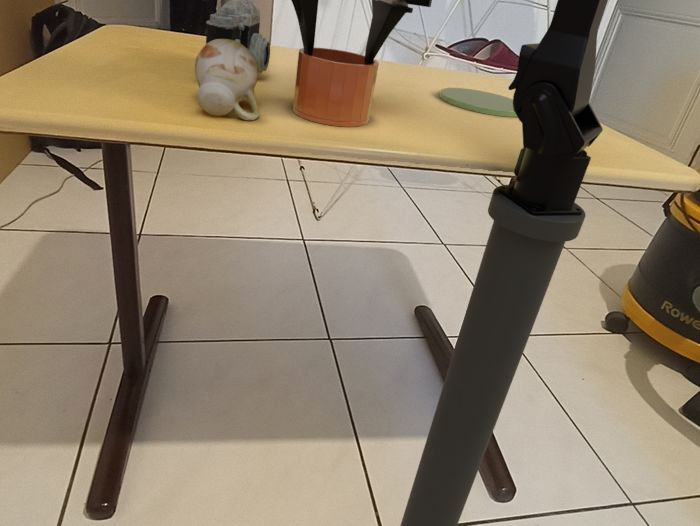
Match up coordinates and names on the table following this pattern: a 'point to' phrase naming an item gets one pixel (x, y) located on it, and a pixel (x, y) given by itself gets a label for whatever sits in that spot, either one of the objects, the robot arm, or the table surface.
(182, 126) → the table surface
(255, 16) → the camera
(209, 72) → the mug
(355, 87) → the cup
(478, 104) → the plate
